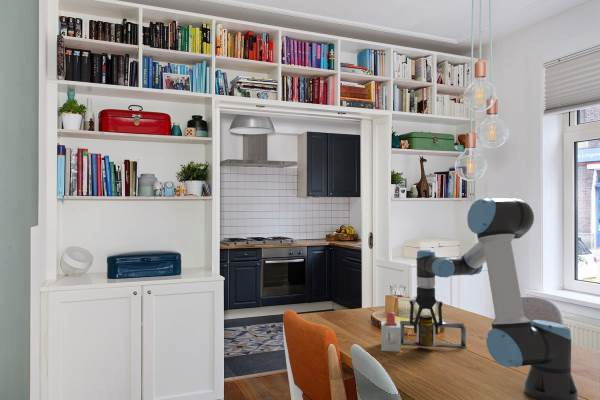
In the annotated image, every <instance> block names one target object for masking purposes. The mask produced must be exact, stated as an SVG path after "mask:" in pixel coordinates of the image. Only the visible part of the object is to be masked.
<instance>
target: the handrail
mask: <svg viewBox="0 0 600 400" xmlns="http://www.w3.org/2000/svg"><path fill="white" fill-rule="evenodd" d="M399 322H400V326H401V345H404V346H413V345H412V344H411V343H416V342H417V341H405V326H408V327H414V325H412V324H410V320H400V321H399ZM438 322H439V321H437V323H438ZM418 323H419V321H418ZM432 323H433V326H435V324H434V321H432ZM442 323H443V325H442V326H438V328H452V329H460V343H445V342H444V343H443V342H435V343H433V344H436V346H435V347H440V348H441V347H443V348H444V347H446V348H463V349H467V326H466V325H464V323H462V322H461V323H460V322H458V323H457V322H442ZM417 325H419V324H417Z"/></svg>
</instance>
